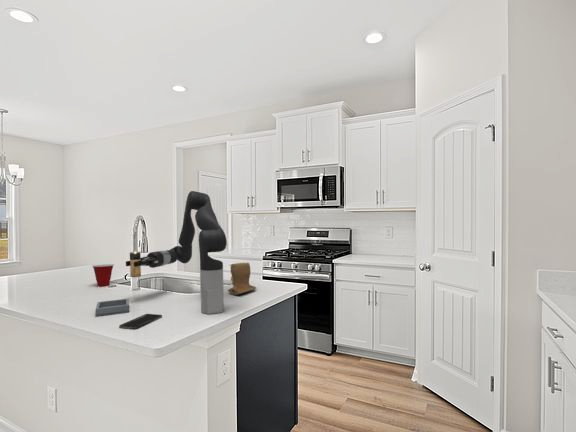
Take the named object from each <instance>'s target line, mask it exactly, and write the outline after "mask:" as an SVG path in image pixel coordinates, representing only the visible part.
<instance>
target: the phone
mask: <svg viewBox="0 0 576 432" xmlns="http://www.w3.org/2000/svg"><path fill="white" fill-rule="evenodd" d="M162 318H163V315H162V314H156V313H155V314H154V313H145V314H143V315H140V316H138V317H136V318H133V319H130V320H129V321H126V322H124V323H121V324H120V325H119V327H118V329H122V330H124V329H125V330H132V331H133V330H139V329H141V328H143V327H146V326H147V325H149V324H152V323H154V322H156V321H158V320H160V319H162Z"/></svg>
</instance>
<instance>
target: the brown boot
mask: <svg viewBox="0 0 576 432" xmlns="http://www.w3.org/2000/svg"><path fill="white" fill-rule="evenodd" d="M230 275H231V276H232V277H233V281H234V284H233V286H232V287H230V288H228V289H227V292H228V293H229V294H230V295H233V296H237V295H241V294H245V293H248V292H250V291H253V290H256V289H257V287H256V286H254V285H251V284H250V277H251V265H250V263H249V262H236V263H231V265H230Z"/></svg>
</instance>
